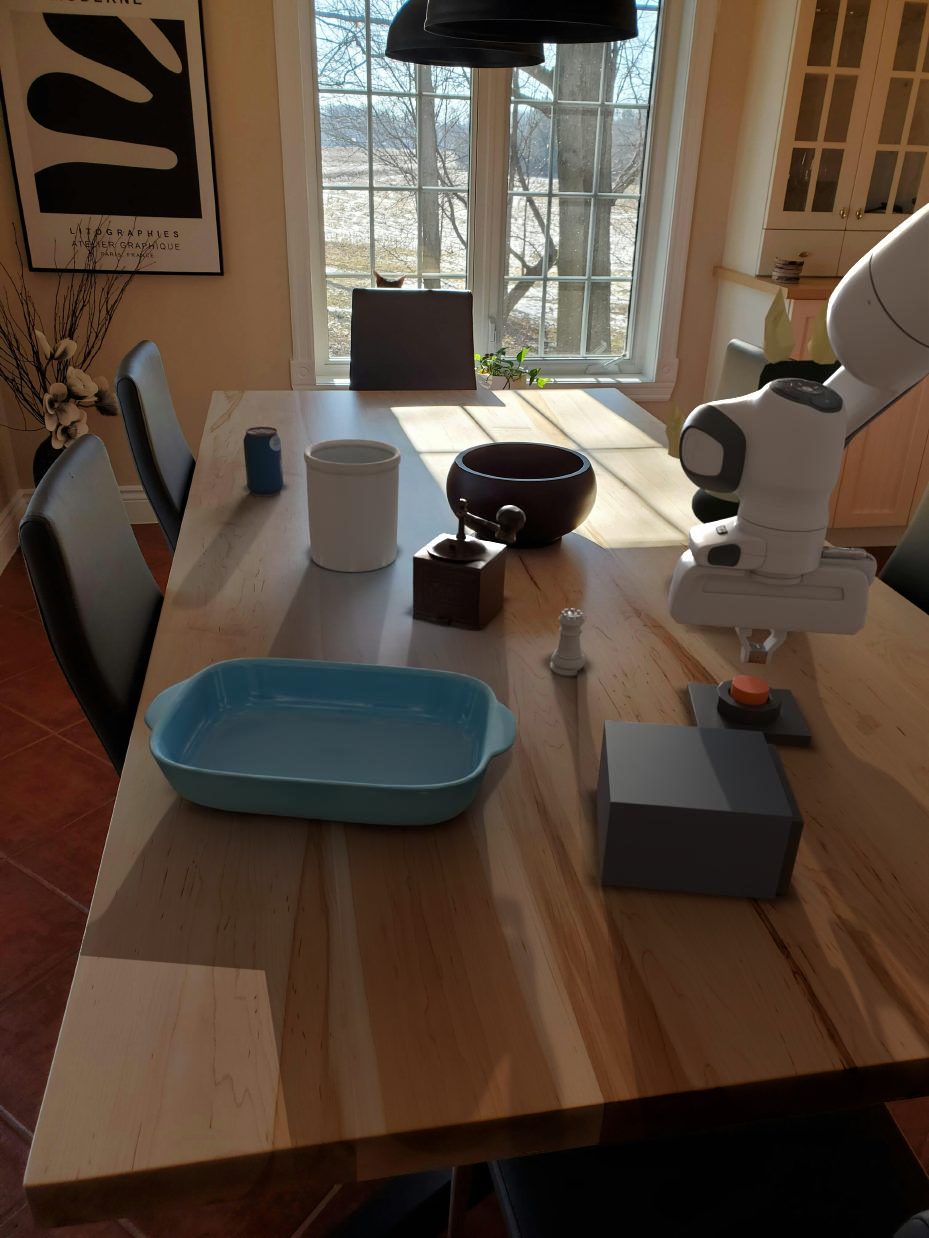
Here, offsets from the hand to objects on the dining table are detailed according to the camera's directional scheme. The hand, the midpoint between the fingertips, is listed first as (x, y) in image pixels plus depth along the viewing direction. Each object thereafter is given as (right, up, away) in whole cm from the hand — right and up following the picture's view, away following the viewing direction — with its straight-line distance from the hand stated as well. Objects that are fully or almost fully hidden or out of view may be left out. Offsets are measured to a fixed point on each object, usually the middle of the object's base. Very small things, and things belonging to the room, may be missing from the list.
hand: (754, 661), depth 99 cm
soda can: (-70, +29, +75) cm, 107 cm away
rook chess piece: (-19, -2, +14) cm, 24 cm away
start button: (0, -4, +2) cm, 5 cm away
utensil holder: (-49, +15, +47) cm, 70 cm away
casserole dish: (-45, -11, -6) cm, 47 cm away
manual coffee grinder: (-30, +5, +28) cm, 42 cm away
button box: (0, -7, +4) cm, 8 cm away
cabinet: (-12, -17, -16) cm, 26 cm away
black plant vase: (+8, +7, +34) cm, 36 cm away
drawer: (-10, -16, -17) cm, 25 cm away
